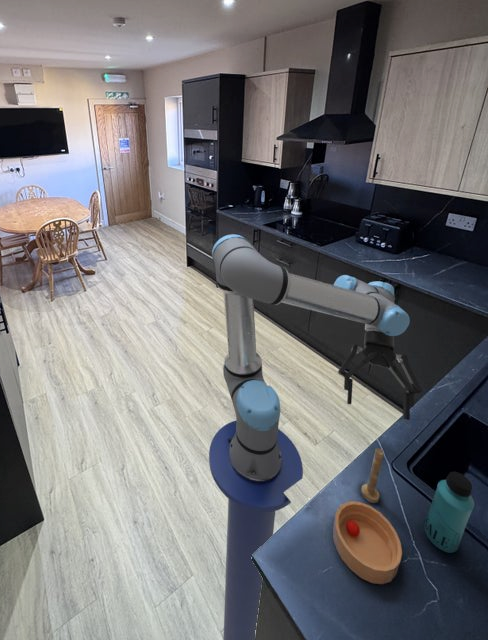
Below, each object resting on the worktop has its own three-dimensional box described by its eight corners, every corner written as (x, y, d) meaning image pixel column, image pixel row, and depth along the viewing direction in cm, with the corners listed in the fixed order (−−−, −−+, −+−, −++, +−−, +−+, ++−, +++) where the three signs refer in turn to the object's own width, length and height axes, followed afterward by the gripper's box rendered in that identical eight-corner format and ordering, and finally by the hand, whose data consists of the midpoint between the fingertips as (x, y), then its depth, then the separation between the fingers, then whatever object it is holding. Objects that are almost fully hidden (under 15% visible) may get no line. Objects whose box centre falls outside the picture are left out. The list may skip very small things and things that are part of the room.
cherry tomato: (342, 530, 76) (344, 522, 75) (350, 523, 77) (351, 515, 76) (353, 542, 73) (355, 534, 73) (361, 535, 75) (363, 526, 74)
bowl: (320, 535, 75) (323, 521, 74) (354, 504, 81) (357, 490, 80) (374, 601, 65) (379, 586, 63) (409, 560, 71) (414, 545, 69)
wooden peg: (357, 491, 84) (367, 448, 80) (367, 483, 86) (376, 441, 81) (372, 506, 81) (383, 462, 76) (381, 497, 83) (392, 454, 78)
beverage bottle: (455, 536, 75) (478, 474, 69) (458, 566, 70) (483, 502, 63) (421, 518, 78) (440, 458, 72) (422, 546, 73) (442, 484, 67)
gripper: (425, 345, 94) (427, 425, 85) (332, 327, 103) (326, 398, 95) (434, 340, 88) (437, 426, 79) (334, 321, 97) (328, 397, 88)
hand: (377, 411), depth 87 cm, fingers open, 13 cm apart
